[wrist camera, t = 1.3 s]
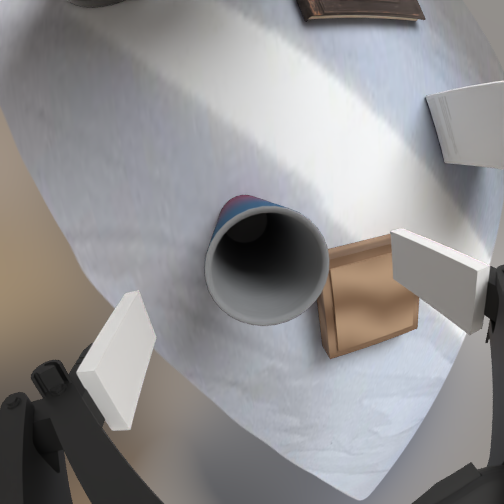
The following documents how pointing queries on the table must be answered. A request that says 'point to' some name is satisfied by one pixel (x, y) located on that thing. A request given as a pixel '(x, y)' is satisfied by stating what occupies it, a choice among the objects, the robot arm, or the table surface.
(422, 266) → the robot arm
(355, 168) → the table surface
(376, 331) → the pedestal
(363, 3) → the hardcover book
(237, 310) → the cup
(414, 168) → the table surface
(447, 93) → the supplement box
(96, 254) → the table surface
